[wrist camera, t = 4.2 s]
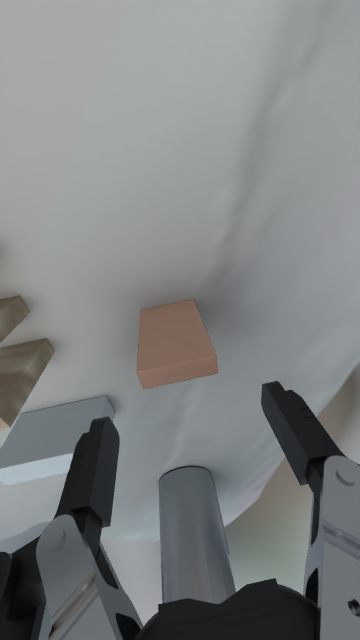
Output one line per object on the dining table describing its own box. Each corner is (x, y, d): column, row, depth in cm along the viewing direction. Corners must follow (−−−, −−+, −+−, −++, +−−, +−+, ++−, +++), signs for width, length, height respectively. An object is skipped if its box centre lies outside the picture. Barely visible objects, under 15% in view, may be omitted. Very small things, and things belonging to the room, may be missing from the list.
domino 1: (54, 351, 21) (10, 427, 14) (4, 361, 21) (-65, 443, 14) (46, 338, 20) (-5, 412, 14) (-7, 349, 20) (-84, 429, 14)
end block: (114, 411, 27) (106, 463, 22) (34, 428, 27) (7, 485, 22) (106, 395, 25) (95, 447, 20) (20, 413, 25) (-13, 471, 20)
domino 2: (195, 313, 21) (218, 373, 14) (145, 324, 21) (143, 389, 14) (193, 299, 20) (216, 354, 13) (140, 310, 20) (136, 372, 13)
